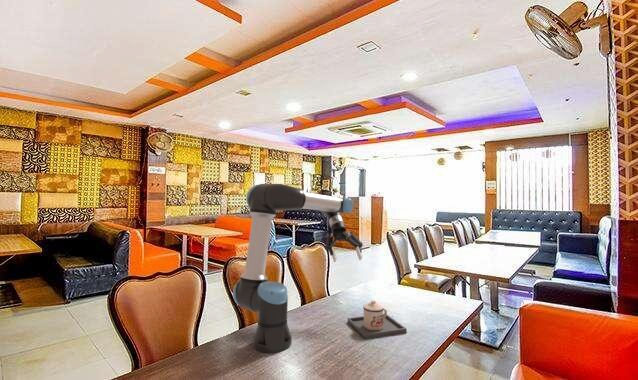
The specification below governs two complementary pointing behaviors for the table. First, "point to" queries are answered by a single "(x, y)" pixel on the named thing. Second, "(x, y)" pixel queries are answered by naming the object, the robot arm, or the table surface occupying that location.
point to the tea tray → (388, 329)
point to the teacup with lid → (374, 316)
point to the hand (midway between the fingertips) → (348, 259)
